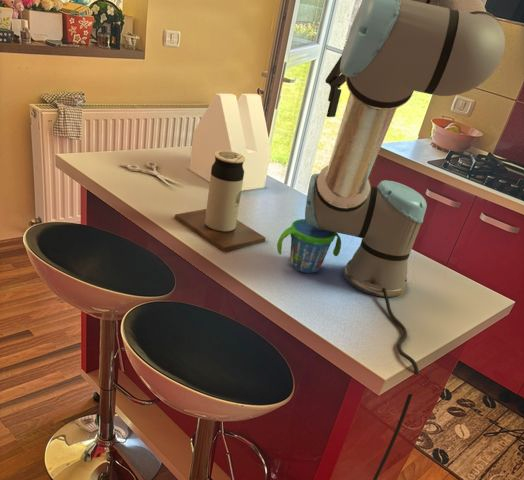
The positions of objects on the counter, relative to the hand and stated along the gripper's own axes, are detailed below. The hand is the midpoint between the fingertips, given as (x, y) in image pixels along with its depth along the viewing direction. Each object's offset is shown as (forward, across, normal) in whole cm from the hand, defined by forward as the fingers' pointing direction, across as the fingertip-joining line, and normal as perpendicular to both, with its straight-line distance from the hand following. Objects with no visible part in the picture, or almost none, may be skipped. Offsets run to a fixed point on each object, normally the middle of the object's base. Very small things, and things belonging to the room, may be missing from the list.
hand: (351, 125), depth 137 cm
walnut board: (+29, +12, +28) cm, 42 cm away
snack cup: (+29, -12, +22) cm, 39 cm away
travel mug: (+28, +13, +28) cm, 42 cm away
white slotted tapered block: (+29, +40, 0) cm, 50 cm away
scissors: (+29, +49, +21) cm, 61 cm away
